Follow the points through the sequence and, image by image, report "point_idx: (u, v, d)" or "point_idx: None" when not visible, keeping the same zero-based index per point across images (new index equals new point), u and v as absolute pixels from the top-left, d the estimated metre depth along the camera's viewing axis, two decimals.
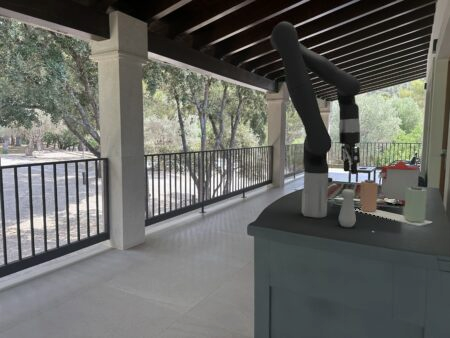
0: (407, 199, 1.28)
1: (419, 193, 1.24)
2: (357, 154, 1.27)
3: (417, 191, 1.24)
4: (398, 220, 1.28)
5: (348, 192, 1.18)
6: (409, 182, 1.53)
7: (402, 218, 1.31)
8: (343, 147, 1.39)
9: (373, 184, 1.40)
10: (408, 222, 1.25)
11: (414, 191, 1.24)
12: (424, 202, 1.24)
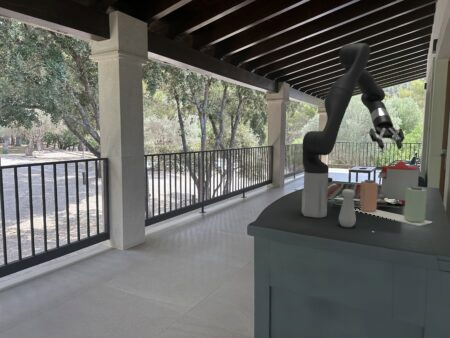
0: (407, 199, 1.28)
1: (419, 193, 1.24)
2: None
3: (417, 191, 1.24)
4: (398, 220, 1.28)
5: (348, 192, 1.18)
6: (409, 182, 1.53)
7: (402, 218, 1.31)
8: (373, 130, 1.50)
9: (373, 184, 1.40)
10: (408, 222, 1.25)
11: (414, 191, 1.24)
12: (424, 202, 1.24)
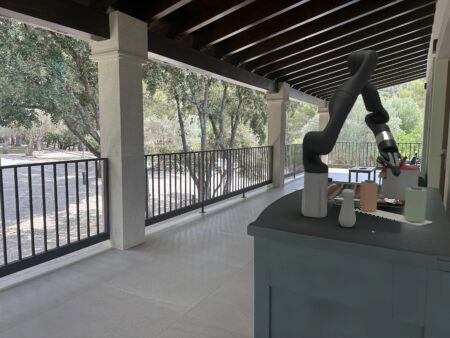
0: (407, 199, 1.28)
1: (419, 193, 1.24)
2: (403, 163, 1.45)
3: (417, 191, 1.24)
4: (398, 220, 1.28)
5: (348, 192, 1.18)
6: (409, 182, 1.53)
7: (402, 218, 1.31)
8: (380, 157, 1.46)
9: (373, 184, 1.40)
10: (408, 222, 1.25)
11: (414, 191, 1.24)
12: (424, 202, 1.24)
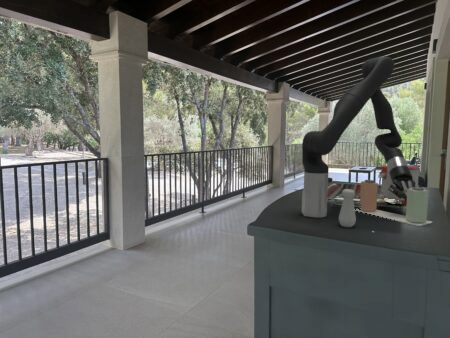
0: (408, 199, 1.27)
1: (421, 193, 1.23)
2: None
3: (419, 192, 1.23)
4: (398, 220, 1.28)
5: (348, 192, 1.18)
6: None
7: (402, 218, 1.31)
8: None
9: (373, 184, 1.40)
10: (408, 222, 1.25)
11: (416, 192, 1.23)
12: (426, 202, 1.23)
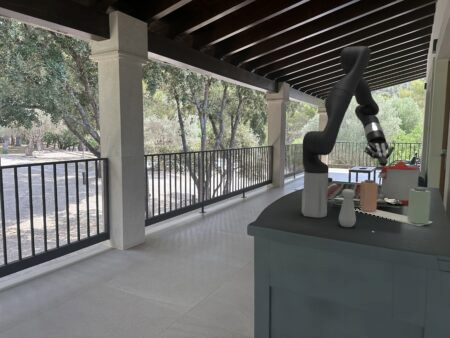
0: (410, 200, 1.25)
1: (423, 194, 1.21)
2: (391, 153, 1.49)
3: (421, 192, 1.21)
4: (398, 220, 1.28)
5: (348, 192, 1.18)
6: (409, 182, 1.53)
7: (402, 218, 1.31)
8: None
9: (373, 184, 1.40)
10: (408, 222, 1.25)
11: (418, 192, 1.21)
12: (428, 203, 1.22)
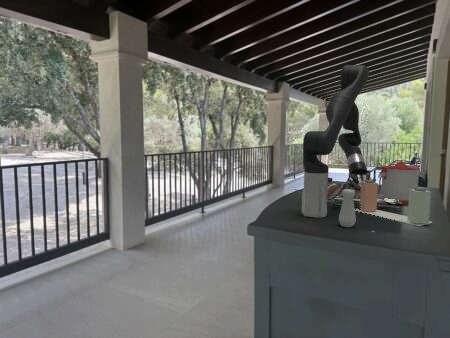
0: (410, 200, 1.25)
1: (423, 194, 1.21)
2: None
3: (421, 192, 1.21)
4: (398, 220, 1.28)
5: (348, 192, 1.18)
6: (409, 182, 1.53)
7: (402, 218, 1.31)
8: (349, 179, 1.51)
9: (373, 184, 1.40)
10: (408, 222, 1.25)
11: (418, 192, 1.21)
12: (428, 203, 1.22)
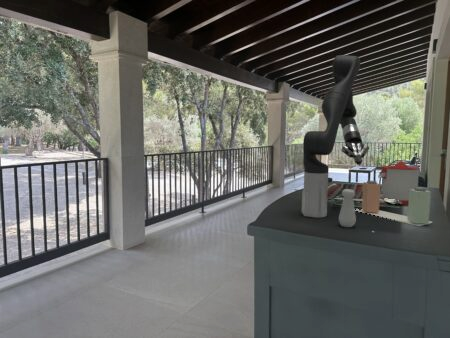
0: (410, 200, 1.25)
1: (423, 194, 1.21)
2: None
3: (421, 192, 1.21)
4: (398, 220, 1.28)
5: (348, 192, 1.18)
6: (409, 182, 1.53)
7: (402, 218, 1.31)
8: None
9: (376, 185, 1.37)
10: (408, 222, 1.25)
11: (418, 192, 1.21)
12: (428, 203, 1.22)
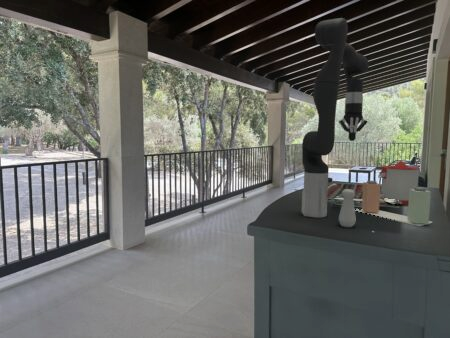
0: (410, 200, 1.25)
1: (423, 194, 1.21)
2: None
3: (421, 192, 1.21)
4: (398, 220, 1.28)
5: (348, 192, 1.18)
6: (409, 182, 1.53)
7: (402, 218, 1.31)
8: (342, 120, 1.57)
9: (376, 185, 1.37)
10: (408, 222, 1.25)
11: (418, 192, 1.21)
12: (428, 203, 1.22)
